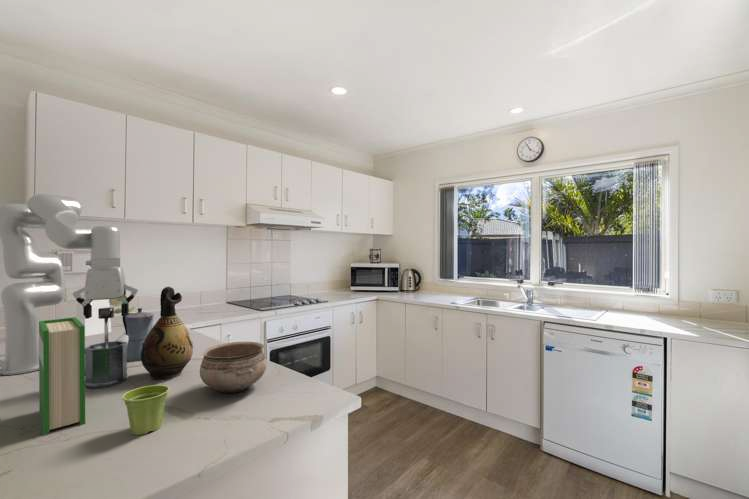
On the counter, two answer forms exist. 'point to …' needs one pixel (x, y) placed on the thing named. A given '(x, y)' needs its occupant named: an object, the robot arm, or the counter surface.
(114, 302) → the flower in vase
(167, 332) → the ceramic jug
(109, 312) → the dark grey stemmed piece
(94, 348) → the carafe
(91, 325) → the milk
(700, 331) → the counter surface
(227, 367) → the cooking pot
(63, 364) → the hardback book
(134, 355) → the moka pot
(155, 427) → the plant pot
